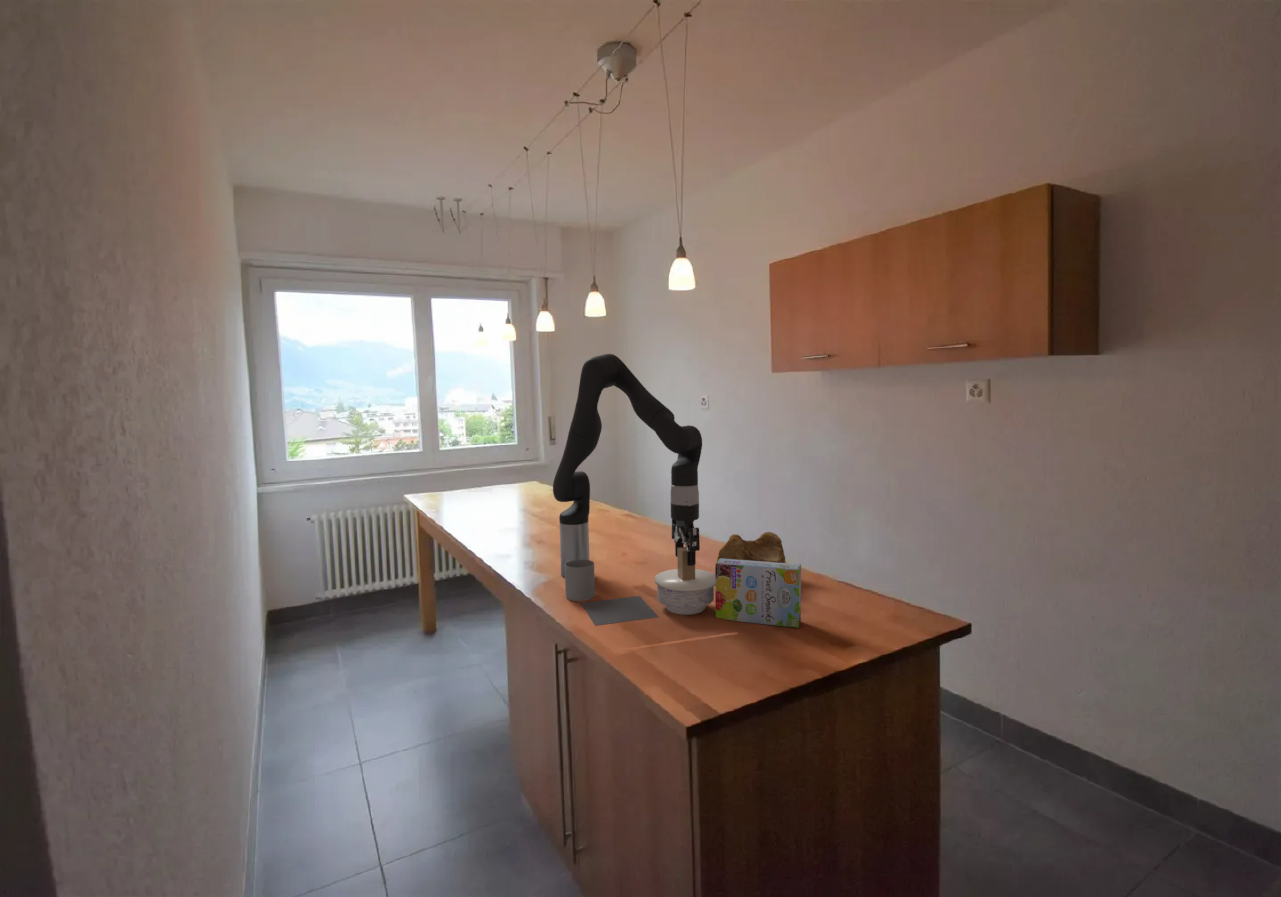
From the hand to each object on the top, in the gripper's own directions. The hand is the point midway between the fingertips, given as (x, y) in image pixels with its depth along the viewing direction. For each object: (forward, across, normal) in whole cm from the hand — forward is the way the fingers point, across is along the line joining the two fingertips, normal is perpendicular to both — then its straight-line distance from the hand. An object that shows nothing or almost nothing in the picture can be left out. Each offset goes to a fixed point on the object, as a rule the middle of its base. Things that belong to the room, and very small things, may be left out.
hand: (685, 560), depth 165 cm
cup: (+14, -19, -25) cm, 34 cm away
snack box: (+14, +13, +14) cm, 24 cm away
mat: (+13, -4, -18) cm, 22 cm away
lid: (+6, 0, 0) cm, 6 cm away
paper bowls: (+14, 0, 0) cm, 14 cm away
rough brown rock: (+14, -12, +28) cm, 33 cm away
